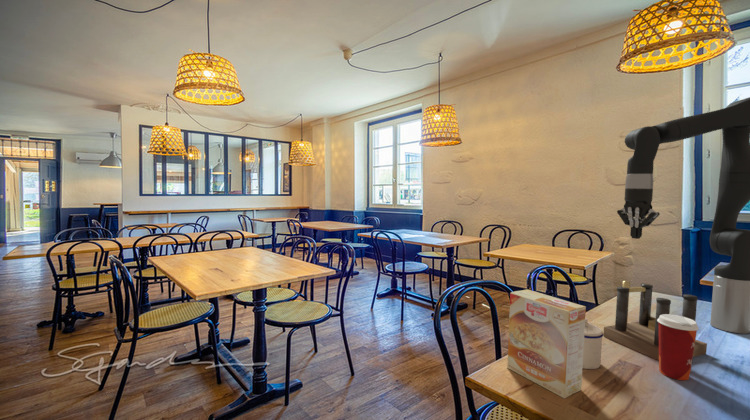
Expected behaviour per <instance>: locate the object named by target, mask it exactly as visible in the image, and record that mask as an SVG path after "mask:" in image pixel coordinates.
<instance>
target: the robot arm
mask: <svg viewBox="0 0 750 420" xmlns="http://www.w3.org/2000/svg"><path fill="white" fill-rule="evenodd" d="M718 130H721V131H722V132H721V133H722V135H721V136H722V149H721V161H720V162H721V163H720V169H719V178H718V190H717V201H716V207H715V212H714V218H713V222H712V226H711V230H710V234H709V245H710V249H711V250H712V251H713V252H714V253H716V254H719V255H723V256H727V257H731V259H730V262H729V263H727V264H722V265H717V266H715V267H714V269H713V281H712V282H713V283H712V297H711V311H710V323H709V324H710V326H712V327H714V328H716V329H718V330H720V331H721V330H722V331H726V332H730V333H735V334H742V335H743V334H746V335H747V334H750V230H749V229H742V228H737V221H738V218H739V215H740V213H741V211H742V210H743V208H745V206H746V205H747V204H748V203H749V202H750V97H746V98H743V99H740V100H736V101H733V102H732V103H729V104H728V105H727V106H726V107H724V108H720V109H716V110H712V111H708V112H704V113H703V112H702V113H699V114H694V115H689V116H685V117H679V118H675V119H672V120H668V121H665V122H663V123H659V124H656V125H652V126H643V127H640V128H636V129H633V130H631V131H629V132H628V134H626V136H625V138H624V144H625V146H626V147H627V148H628V149H630V150H633V155H632V156H631V157H630V158H628V161H627V167H626V168H627V169H626V177H625V182H624V183H625V184H624V186H625V187H624V201H625V202H624V205H623V208H620V209H618V210H617V211H616V212H617V215H618V216H619V217H620V219H621V220H622V222H623V224H625V226H629V227H630V237H631V239H635V240H636V239H638V240H639V239H641V237H642V236H643V228H644V227H649V226H650V225H651V224H652V223H653V222H654V221H656V219H657V218H658V217H659V216H660V212H659V211H655V210H654V209H653V206H652V201H653V195H654V193H653V191H654V161H655V158H656V156H657V153H658V150H659V147H660V144H667V143H674V142H678V141H681V140H682V141H683V140H687V139H691V138H694V137H698V136H702V135H704V134H708V133H711V132H712V133H713V132H716V131H718Z"/></svg>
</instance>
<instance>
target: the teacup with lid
mask: <svg viewBox="0 0 750 420" xmlns="http://www.w3.org/2000/svg"><path fill="white" fill-rule="evenodd" d="M603 337H604V330H602V329H601V328H600V327H599V326H596V325H595V324H592V323H591V322H589V321H588V318H587V317H585V331H584V349H583V368H582V369H585V370H596V369H599V368H600V367H601V363H602V360H601V359H602V347H603V346H602V345H603V344H602V343H603Z"/></svg>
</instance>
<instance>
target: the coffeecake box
mask: <svg viewBox="0 0 750 420" xmlns="http://www.w3.org/2000/svg"><path fill="white" fill-rule="evenodd" d="M509 295H510V297H509V316H508V319H509V320H508V321H509V322H508V342H507V343H508V344H507V362H506V363H507V364H506V369H509V370H510V371H512V372H514V373H516V374H518V375H519V376H522V377H524V378H525V379H527V380H529V381H531V382H533V383H535V384H536V385H539V386H540V387H542V388H544V389H545V390H547V391H550V392H551V393H553V394H554V395H557V396H559V398H563V399H567V398H568V397H571V396H572V395H573V394H576V393H578V392H580V391H582V387H583V386H582V384H583V380H582V379H583V369H584V368H583V349H584V331H585V318H586V309H587V306H585V305H582V304H578V303H576V302H571V301H569V300H565V299H562V298H559V297H555V296H551V295H548V294H545V293H541V292H538V291H534V290H531V289H529V288H528V289H523V290H515V291H511V292H510V293H509Z"/></svg>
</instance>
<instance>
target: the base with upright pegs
mask: <svg viewBox="0 0 750 420" xmlns="http://www.w3.org/2000/svg"><path fill="white" fill-rule="evenodd" d="M628 295H629V296H630V292H629V288H626V287H622V286H616V305H615V307H616V308H615V322H614V324H615V325H613V324H612V325H607V326H603V337H604V338H607V339H609V340H611V341H613V342H616V343H618V344H620V345H623V346H625V347H626V348H630V349H631V350H634V351H636V352H639V353H641V354H643V355H645V356H648V357H650V358H652V359H655V360H657V361H659V322H658V321H657V319H658V318H659V316H660V315H662V314H671V312H670V311H671V305H672V300H671V299H669V298H665V297H656V306H655V307H656V308H655V317H654V316H651V317H650V321H649V323H648V326H646V325H642V324H639V321H634V322H628V320H627V312H628V313H629V304H628ZM682 295H683V296H682V298H683V300H682V315H681V316H683V317H686V318H689V319H692V320H694V321H695V322H696V320H697V319H696V318H697V317H696V316H697V305H698V304H697V303H698V299H699V297H698V296H696V295H693V294H688V293H687V294H685V293H684V294H682ZM707 346H708V343H706V342H703V341H700V340H698V339H695V345H694V352H693V358H694V357H699V356H702V355H707V348H708V347H707Z"/></svg>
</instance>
